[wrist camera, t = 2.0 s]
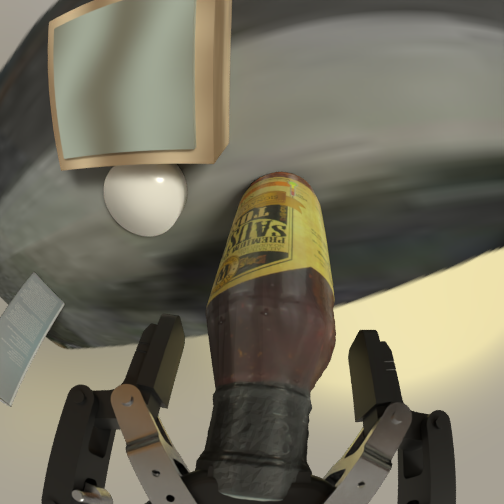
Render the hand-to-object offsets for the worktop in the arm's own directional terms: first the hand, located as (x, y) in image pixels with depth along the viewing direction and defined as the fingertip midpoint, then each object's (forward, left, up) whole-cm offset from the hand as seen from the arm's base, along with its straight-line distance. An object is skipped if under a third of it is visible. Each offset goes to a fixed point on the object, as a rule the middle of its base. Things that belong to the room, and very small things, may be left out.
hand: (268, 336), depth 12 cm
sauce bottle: (0, 0, -13) cm, 13 cm away
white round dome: (+11, -1, -13) cm, 17 cm away
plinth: (+10, -11, -13) cm, 19 cm away
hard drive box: (+39, +19, -13) cm, 45 cm away
